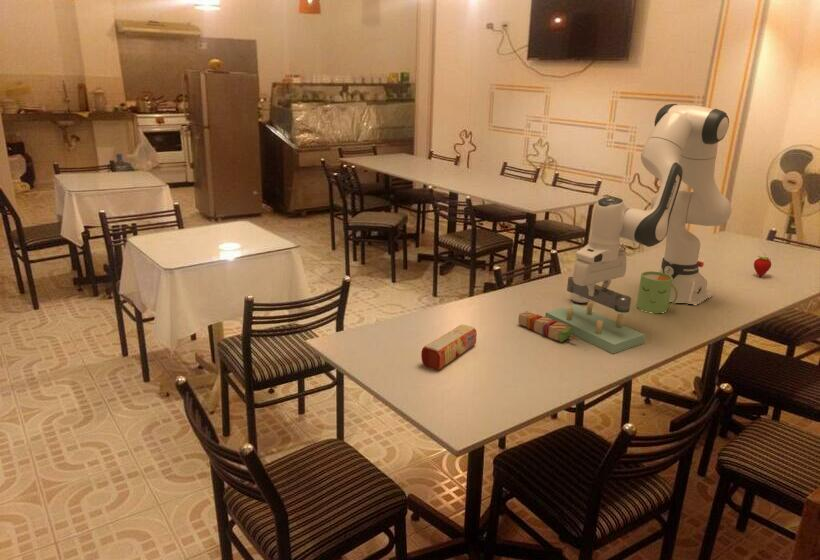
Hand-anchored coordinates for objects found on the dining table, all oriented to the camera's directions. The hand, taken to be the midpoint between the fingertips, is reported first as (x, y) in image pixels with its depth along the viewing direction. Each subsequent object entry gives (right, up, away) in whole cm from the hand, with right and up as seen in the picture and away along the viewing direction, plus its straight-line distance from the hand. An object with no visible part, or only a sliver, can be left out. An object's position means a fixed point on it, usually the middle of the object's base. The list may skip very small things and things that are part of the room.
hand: (597, 294), depth 188 cm
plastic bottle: (+3, -4, +29) cm, 29 cm away
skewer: (-15, -13, +2) cm, 20 cm away
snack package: (-47, -18, -13) cm, 52 cm away
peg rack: (0, -12, +5) cm, 13 cm away
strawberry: (+84, +6, +59) cm, 103 cm away
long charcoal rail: (0, -2, +1) cm, 2 cm away
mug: (+27, -6, +24) cm, 37 cm away
